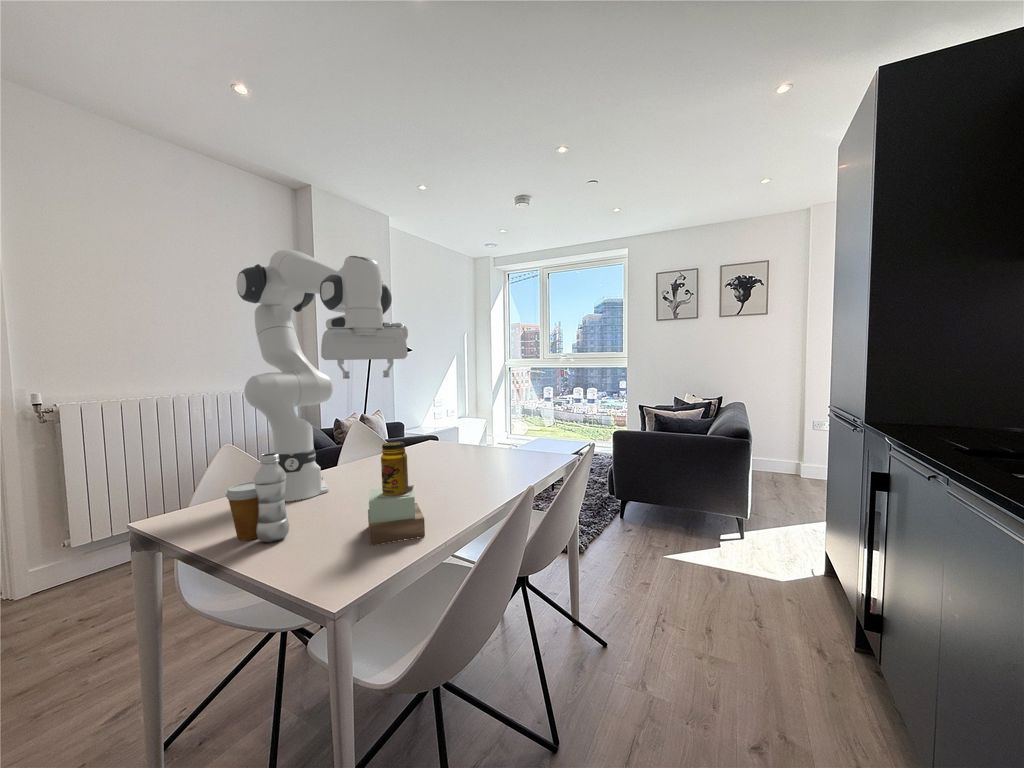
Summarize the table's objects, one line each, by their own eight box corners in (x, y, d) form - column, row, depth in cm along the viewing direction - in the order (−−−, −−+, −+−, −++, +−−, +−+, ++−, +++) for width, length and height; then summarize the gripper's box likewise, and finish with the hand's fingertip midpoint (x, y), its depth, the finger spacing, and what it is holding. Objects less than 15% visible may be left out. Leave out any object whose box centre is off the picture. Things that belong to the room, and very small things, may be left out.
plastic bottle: (293, 539, 97) (290, 454, 96) (260, 548, 92) (257, 459, 92) (284, 531, 102) (281, 450, 101) (252, 540, 97) (249, 455, 96)
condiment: (377, 498, 96) (375, 446, 96) (385, 487, 105) (383, 440, 104) (409, 496, 97) (407, 445, 96) (414, 486, 105) (412, 439, 105)
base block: (368, 529, 104) (367, 509, 104) (417, 521, 108) (416, 502, 108) (370, 548, 92) (369, 526, 92) (424, 539, 97) (424, 518, 97)
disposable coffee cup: (281, 533, 100) (277, 484, 100) (235, 547, 93) (231, 494, 93) (268, 524, 107) (265, 478, 106) (224, 536, 100) (220, 487, 99)
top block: (371, 509, 103) (371, 489, 103) (413, 504, 106) (412, 485, 106) (369, 523, 94) (368, 501, 94) (415, 518, 97) (414, 496, 96)
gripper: (406, 324, 110) (408, 376, 110) (321, 323, 103) (323, 379, 104) (408, 321, 104) (410, 376, 104) (318, 320, 97) (321, 379, 98)
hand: (366, 378), depth 104 cm, fingers open, 8 cm apart
